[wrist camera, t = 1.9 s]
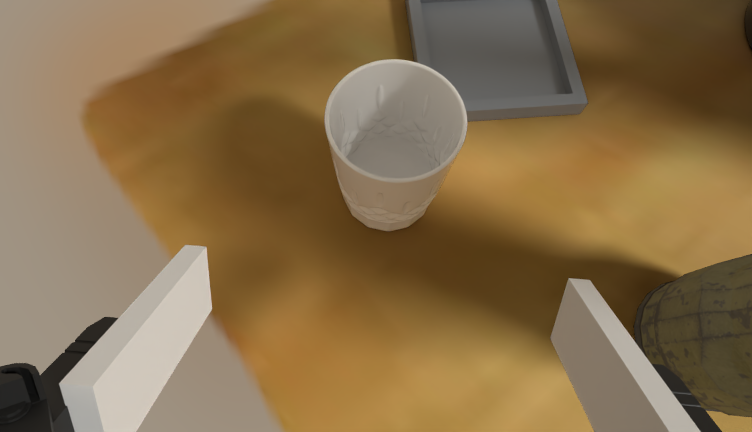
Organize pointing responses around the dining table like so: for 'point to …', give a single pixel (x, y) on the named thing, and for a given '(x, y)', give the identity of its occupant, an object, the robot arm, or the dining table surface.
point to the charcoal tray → (499, 55)
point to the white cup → (393, 139)
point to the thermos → (704, 333)
